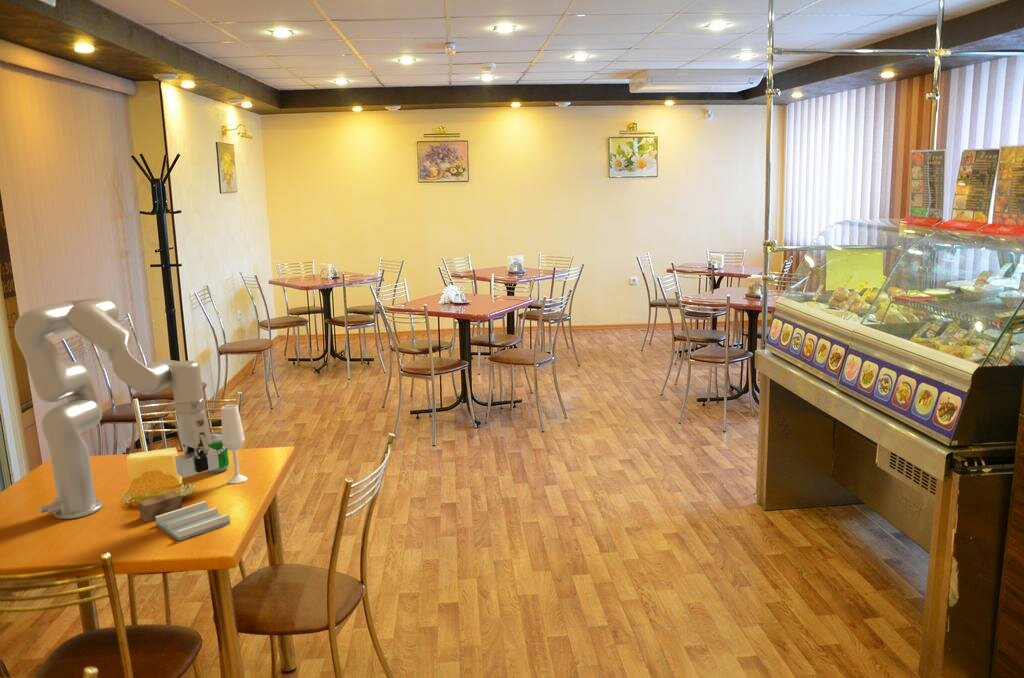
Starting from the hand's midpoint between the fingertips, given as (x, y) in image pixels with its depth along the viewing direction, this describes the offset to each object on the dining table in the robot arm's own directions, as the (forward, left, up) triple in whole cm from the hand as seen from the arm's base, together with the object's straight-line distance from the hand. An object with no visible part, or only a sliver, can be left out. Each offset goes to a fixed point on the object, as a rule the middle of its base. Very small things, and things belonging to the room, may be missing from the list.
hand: (197, 468), depth 222 cm
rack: (-5, -5, -14) cm, 15 cm away
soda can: (+19, +31, -14) cm, 39 cm away
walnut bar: (-8, +9, -14) cm, 19 cm away
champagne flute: (+19, +17, -14) cm, 29 cm away
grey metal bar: (0, 0, -1) cm, 1 cm away
